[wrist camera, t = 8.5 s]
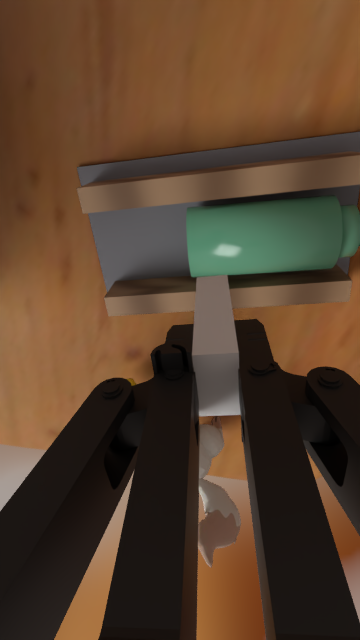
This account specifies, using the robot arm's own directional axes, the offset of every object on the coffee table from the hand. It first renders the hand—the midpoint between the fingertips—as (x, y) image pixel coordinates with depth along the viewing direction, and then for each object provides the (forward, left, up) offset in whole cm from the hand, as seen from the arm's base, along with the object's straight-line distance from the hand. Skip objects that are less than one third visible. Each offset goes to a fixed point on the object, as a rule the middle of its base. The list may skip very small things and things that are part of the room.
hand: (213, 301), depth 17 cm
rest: (0, 0, -14) cm, 14 cm away
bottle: (-2, 0, -11) cm, 11 cm away
